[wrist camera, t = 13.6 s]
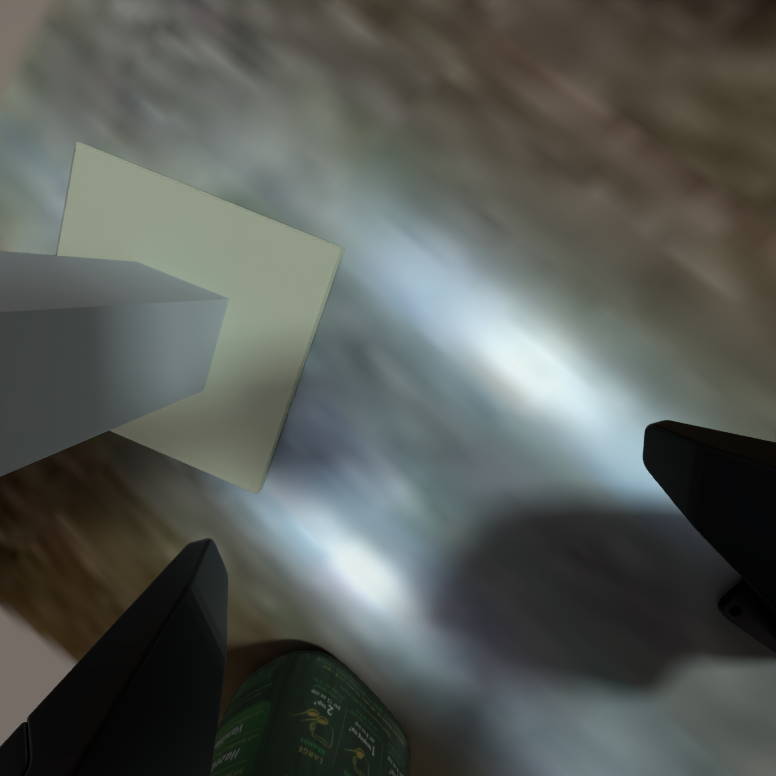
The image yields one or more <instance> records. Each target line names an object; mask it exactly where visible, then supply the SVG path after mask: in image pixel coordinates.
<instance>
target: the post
mask: <svg viewBox="0 0 776 776" xmlns="http://www.w3.org/2000/svg"><path fill="white" fill-rule="evenodd" d="M228 301H229V298H226V297H224V296H221V295H219V294H216V293H214V292H211V291H209V290H206V289H204V288H201V287H199V286H196V285H194V284H191V283H189V282H186V281H184V280H181V279H179V278H176V277H174V276H172V275H169V274H167V273H164V272H162V271H159V270H157V269H154V268H152V267H149V266H147V265H144V264H142V263H139V262H134V261H121V260H108V259H95V258H82V257H69V256H56V255H43V254H30V253H18V252H5V251H0V477H1V476H3V475H6V474H8V473H10V472H13V471H15V470H17V469H20V468H22V467H24V466H27V465H29V464H31V463H34V462H36V461H39V460H41V459H43V458H46V457H48V456H50V455H53V454H55V453H57V452H60V451H62V450H64V449H67V448H69V447H72V446H74V445H76V444H79V443H81V442H83V441H86V440H88V439H90V438H93V437H95V436H97V435H100V434H102V433H105V432H107V431H109V430H112V429H114V428H116V427H119V426H121V425H123V424H126V423H128V422H130V421H133V420H135V419H138V418H140V417H142V416H145V415H147V414H149V413H152V412H154V411H156V410H159V409H161V408H163V407H166V406H168V405H171V404H173V403H175V402H178V401H180V400H182V399H185V398H187V397H189V396H192V395H194V394H196V393H199V392H201V391H204V388H205V384H206V381H207V377H208V374H209V370H210V366H211V363H212V359H213V356H214V352H215V348H216V345H217V341H218V338H219V334H220V330H221V327H222V323H223V319H224V316H225V312H226V309H227V305H228Z"/></svg>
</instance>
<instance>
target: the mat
mask: <svg viewBox="0 0 776 776" xmlns="http://www.w3.org/2000/svg"><path fill="white" fill-rule="evenodd" d="M343 251H344V248H342V247H339V246H337V245H334V244H332V243H329V242H327V241H324V240H322V239H319V238H317V237H314V236H312V235H309V234H307V233H304V232H302V231H299V230H297V229H294V228H292V227H289V226H287V225H285V224H282V223H280V222H277V221H275V220H272V219H270V218H267V217H265V216H262V215H260V214H257V213H255V212H252V211H250V210H247V209H245V208H242V207H240V206H237V205H235V204H232V203H230V202H227V201H225V200H222V199H220V198H217V197H215V196H212V195H210V194H207V193H205V192H202V191H200V190H197V189H195V188H192V187H190V186H188V185H185V184H183V183H180V182H178V181H175V180H173V179H170V178H168V177H165V176H163V175H160V174H158V173H155V172H153V171H150V170H148V169H145V168H143V167H140V166H138V165H135V164H133V163H130V162H128V161H125V160H123V159H120V158H118V157H115V156H113V155H110V154H108V153H105V152H103V151H100V150H98V149H95V148H93V147H91V146H88V145H85V144H83V143H80V142H78V141H77V145H76V150H75V156H74V162H73V167H72V173H71V178H70V184H69V190H68V195H67V201H66V207H65V212H64V218H63V224H62V229H61V235H60V241H59V246H58V252H57V256H69V257H82V258H95V259H108V260H121V261H134V262H139V263H142V264H144V265H147V266H149V267H152V268H154V269H157V270H159V271H162V272H164V273H167V274H169V275H172V276H174V277H176V278H179V279H181V280H184V281H186V282H189V283H191V284H194V285H196V286H199V287H201V288H204V289H206V290H209V291H211V292H214V293H216V294H219V295H221V296H224V297H226V298H229V301H228V305H227V309H226V312H225V316H224V319H223V323H222V327H221V330H220V334H219V338H218V341H217V345H216V348H215V352H214V356H213V359H212V363H211V366H210V370H209V374H208V377H207V381H206V384H205V388H204V391H201V392H199V393H196V394H194V395H192V396H189V397H187V398H185V399H182V400H180V401H178V402H175V403H173V404H171V405H168V406H166V407H163V408H161V409H159V410H156V411H154V412H152V413H149V414H147V415H145V416H142V417H140V418H138V419H135V420H133V421H130V422H128V423H126V424H123V425H121V426H119V427H116V428H114V429H112V430H109V431H111V432H113V433H116V434H118V435H120V436H123V437H125V438H127V439H130V440H132V441H134V442H137V443H139V444H141V445H144V446H146V447H148V448H151V449H153V450H155V451H158V452H160V453H162V454H165V455H167V456H169V457H172V458H174V459H176V460H179V461H181V462H183V463H185V464H188V465H190V466H192V467H195V468H197V469H199V470H202V471H204V472H206V473H209V474H211V475H213V476H216V477H218V478H220V479H223V480H225V481H227V482H230V483H232V484H234V485H237V486H239V487H241V488H244V489H246V490H248V491H251V492H253V493H255V494H257V493H258V492H259V491H260V490H261V489H262V486H263V483H264V480H265V478H266V475H267V472H268V469H269V466H270V463H271V460H272V457H273V454H274V451H275V448H276V446H277V443H278V440H279V437H280V434H281V431H282V428H283V425H284V422H285V419H286V416H287V414H288V411H289V408H290V405H291V402H292V399H293V396H294V393H295V390H296V387H297V384H298V382H299V379H300V376H301V373H302V370H303V367H304V364H305V361H306V358H307V355H308V352H309V349H310V347H311V344H312V341H313V338H314V335H315V332H316V329H317V326H318V323H319V320H320V317H321V315H322V312H323V309H324V306H325V303H326V300H327V297H328V294H329V291H330V288H331V285H332V283H333V280H334V277H335V274H336V271H337V268H338V265H339V262H340V259H341V256H342V253H343Z"/></svg>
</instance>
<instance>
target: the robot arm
mask: <svg viewBox="0 0 776 776" xmlns="http://www.w3.org/2000/svg"><path fill="white" fill-rule="evenodd" d="M643 462H644V465H645V467H646V469H647V470H648V471H649V473H650V474H651V475H652V476H653V478H654V479H655V480H656V481H657V482H658V484H659V485H660V486H661V487H662V489H663V490H664V491H665V492H666V494H667V495H668V496H669V497H670V499H671V500H672V501H673V502H674V504H675V505H676V506H677V507H678V508H679V510H680V511H681V512H682V513H683V515H684V516H685V517H686V518H687V520H688V521H689V522H690V523H691V524H692V525H693V527H694V528H695V529H696V530H697V531H698V532H699V533H700V534H701V535H702V536H703V537H704V538H705V539H706V540H707V541H708V542H709V543H710V544H711V546H712V547H713V548H714V549H715V550H716V551H717V552H718V553H719V554H720V555H721V556H722V557H723V558H724V559H725V560H726V561H727V562H728V563H729V564H730V565H731V566H732V567H733V568H734V569H735V570H736V571H737V572H738V573H739V574H740V575H741V576H742V577H743V578H744V579H743V580H741V581H740V582H739V583H738V584H737V585H736V586H735V587H734V588H732V589H731V590H730V591H729V592H728V593H727V594H726V595H725V596H723V597H722V598H721V599H720V601H719V602H718V608H719V610H720V611H721V613H722V614H723V615H724V616H725V617H726V618H727V619H728V620H729V621H731V622H732V623H734V624H735V625H737V626H738V627H739V628H741V629H742V630H744V631H745V632H747V633H748V634H749V635H751V636H752V637H754V638H755V639H756V640H758V641H759V642H761V643H762V644H764V645H765V646H766V647H768V648H769V649H771V650H772V651H774V652H775V653H776V442H771V441H766V440H761V439H756V438H752V437H747V436H742V435H737V434H732V433H728V432H723V431H718V430H713V429H708V428H704V427H699V426H694V425H689V424H684V423H680V422H675V421H670V420H664V421H660V422H656V423H652V424H649V425H648V426H647V427H646V429H645V434H644V447H643ZM734 606H736V608H735V609H733V610H730V609H731V608H732V607H734ZM227 614H228V574H227V570H226V567H225V565H224V562H223V560H222V558H221V555H220V553H219V551H218V549H217V546H216V544H215V542H214V541H213V540H212V539H210V538H206V539H202V540H198V541H195V542H191V543H189V544H188V545H187V546H186V547H185V548H184V549H183V550H182V551H181V552H180V553H179V554H178V555H177V556H176V557H175V558H174V559H173V561H172V562H171V563H170V564H169V565H168V566H167V567H166V568H165V569H164V570H163V571H162V572H161V574H160V575H159V576H158V577H157V578H156V579H155V580H154V581H153V582H152V583H151V584H150V585H149V587H148V588H147V589H146V590H145V591H144V592H143V593H142V594H141V595H140V596H139V597H138V598H137V600H136V601H135V602H134V603H133V604H132V605H131V606H130V607H129V608H128V609H127V610H126V611H125V612H124V614H123V615H122V616H121V617H120V618H119V619H118V620H117V621H116V622H115V623H114V624H113V625H112V627H111V628H110V629H109V630H108V631H107V632H106V633H105V634H104V635H103V636H102V637H101V638H100V640H99V641H98V642H97V643H96V644H95V645H94V646H93V647H92V648H91V649H90V650H89V651H88V653H87V654H86V655H85V656H84V657H83V658H82V659H81V660H80V661H79V662H78V663H77V664H76V665H75V667H74V668H73V669H72V670H71V671H70V672H69V673H68V674H67V675H66V676H65V677H64V679H63V680H62V681H61V682H60V683H59V684H58V685H57V686H56V687H55V688H54V689H53V691H52V692H51V693H50V694H49V695H48V696H47V697H46V698H45V699H44V700H43V701H42V702H41V703H40V704H39V705H38V707H37V708H36V709H35V710H34V711H33V712H32V713H31V714H30V715H29V717H28V718H27V722H24V723H22V724H21V725H20V726H19V727H18V728H17V729H16V730H15V731H14V732H13V733H12V735H11V736H10V737H9V738H8V739H7V740H6V741H5V742H4V743H3V744H2V745H1V746H0V776H211V768H212V761H213V754H214V747H215V739H216V732H217V725H218V718H219V710H220V703H221V696H222V689H223V681H224V674H225V665H226V650H227Z"/></svg>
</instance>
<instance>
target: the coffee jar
mask: <svg viewBox="0 0 776 776" xmlns="http://www.w3.org/2000/svg"><path fill="white" fill-rule="evenodd" d="M410 765H411V751H410V746H409V742H408V740H407V737H406V735H405V733H404V731H403V730H402V728H401V727H400V725H399V724H398V722H397V721H396V719H395V718H394V717H393V715H392V714H391V712H389V711H388V709H387V708H386V707H385V705H384V704H383V703H382V702H381V700H380V699H379V698H378V697H377V696H376V695H375V694H374V693H373V692H372V691H371V690H370V689H369V688H368V687H367V686H366V685H365V684H364V683H363V682H362V681H361V680H360V679H359V678H358V677H357V676H356V675H355V674H354V673H352V672H351V671H350V670H349V669H348V668H347V667H345V666H344V665H343V664H342V663H341V662H339V661H338V660H337V659H335V658H334V657H332V656H330V655H328V654H325V653H323V652H318V651H293V652H290V653H287V654H284V655H281V656H279V657H277V658H275V659H273V660H272V661H270V662H268V663H266V664H265V665H263V666H262V667H260V668H259V669H257V670H256V671H255V672H254V673H252V674H251V675H250V676H249V677H248V678H247V679H246V680H245V681H244V682H243V683H242V684H241V685H240V686H239V688H238V689H237V691H236V693H235V694H234V696H233V698H232V700H231V702H230V704H229V706H228V708H227V710H226V713H225V715H224V717H223V719H222V721H221V724H220V726H219V728H218V730H217V733H216V739H215V747H214V754H213V761H212V768H211V776H409V775H410Z"/></svg>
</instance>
